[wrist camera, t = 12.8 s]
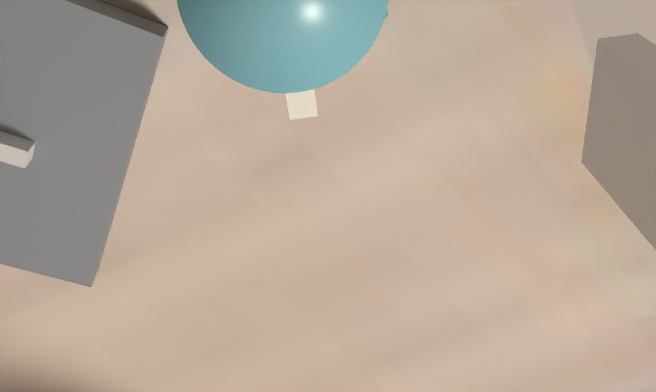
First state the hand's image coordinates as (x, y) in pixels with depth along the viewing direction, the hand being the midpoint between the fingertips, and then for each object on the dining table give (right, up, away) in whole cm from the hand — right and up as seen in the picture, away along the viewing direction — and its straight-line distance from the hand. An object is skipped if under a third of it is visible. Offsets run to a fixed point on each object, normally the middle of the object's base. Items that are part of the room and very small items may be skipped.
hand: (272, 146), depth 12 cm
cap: (-1, +9, +14) cm, 17 cm away
